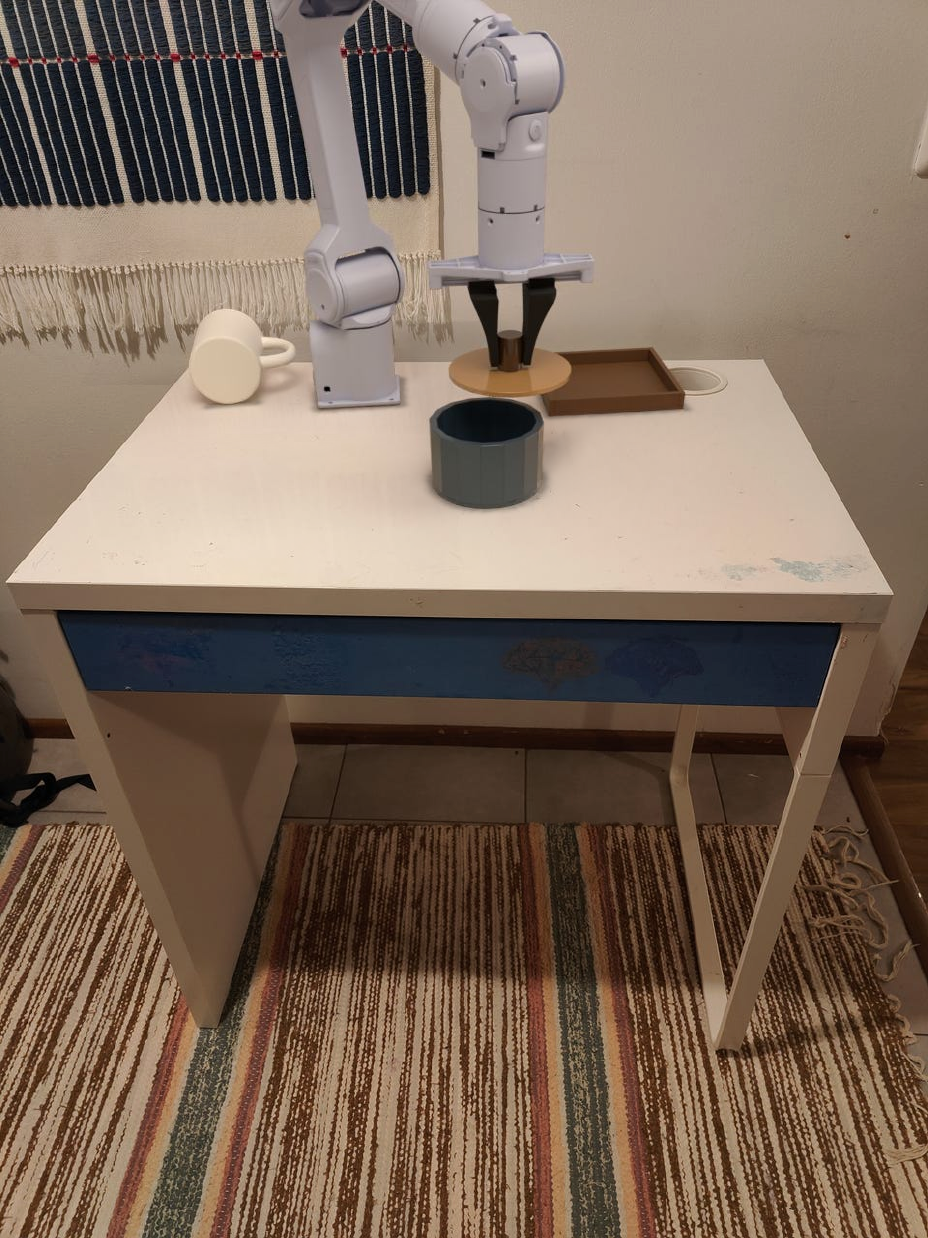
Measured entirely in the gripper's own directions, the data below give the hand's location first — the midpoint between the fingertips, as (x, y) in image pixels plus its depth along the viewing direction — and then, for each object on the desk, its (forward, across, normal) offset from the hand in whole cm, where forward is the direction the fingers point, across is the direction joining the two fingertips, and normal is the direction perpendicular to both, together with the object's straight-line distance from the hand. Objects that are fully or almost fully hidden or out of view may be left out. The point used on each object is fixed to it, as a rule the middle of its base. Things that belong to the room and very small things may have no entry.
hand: (509, 362), depth 81 cm
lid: (+1, 0, 0) cm, 1 cm away
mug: (+11, -29, +23) cm, 38 cm away
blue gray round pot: (+10, -3, -4) cm, 11 cm away
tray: (+10, +13, +17) cm, 24 cm away
